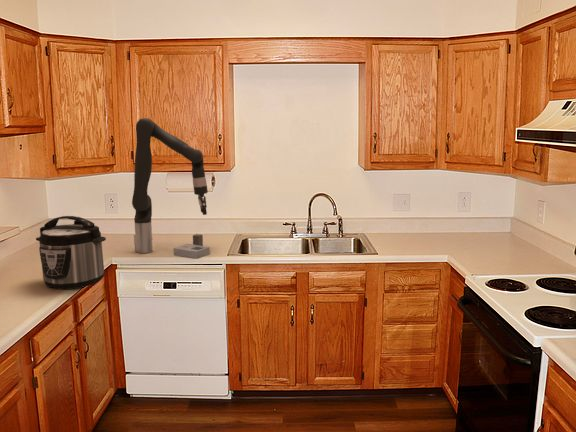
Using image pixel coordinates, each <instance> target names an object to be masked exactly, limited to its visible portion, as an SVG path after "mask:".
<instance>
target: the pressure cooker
mask: <svg viewBox="0 0 576 432" xmlns="http://www.w3.org/2000/svg"><path fill="white" fill-rule="evenodd" d="M65 219H67V220H72V221H73V224H72V223H71V224H59V225H58V222H59V221H60V220H65ZM106 239H107V238H106V237H105V236H102V233H101V231H100V227H99V226H98V225H95V223H94V222H92V221H91V220H89V219H87V218H83V217H80V216H75V215H62V216H58V217H54V218H52V219H50V220H48V221H47V222H46V223H44V225H43V226H41V227H39V236H37V237H36V238H35V240H36V241H38V242H39V256H40V262H41V271H42V279H43V282H44V284H45V285H46V286H47V287H49V288H51V287H53V288H52V289H56V288H62V289H61V290H64V289H63V288H69V289H79V288H86V287H88V286H92V285H95V284H98V283H99V282H100V281H101V280H102V279H103V278H104V275H105V266H104V254H103V253H104V252H103V243H102V242H104V241H106ZM69 289H68V290H69Z"/></svg>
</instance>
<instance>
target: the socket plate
mask: <svg viewBox="0 0 576 432" xmlns="http://www.w3.org/2000/svg"><path fill="white" fill-rule="evenodd" d="M210 254H211V247H210V246H205V245H203V246H200V245H193V243H192V244H191V243H185V244H182V245H180V246H176V247H173V256H175V257H176V256H177V257H185V258H188V259H196V260H197V259H200V258H203V257H205V256H208V255H210Z"/></svg>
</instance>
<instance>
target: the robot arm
mask: <svg viewBox="0 0 576 432" xmlns="http://www.w3.org/2000/svg"><path fill="white" fill-rule="evenodd" d="M135 133H136V136H135V137H136V147H135V155H134V171H133V172H134V173H133V174H134V176H133V177H134V178H133V179H134V186H133V193H132V199H131V204H132V207H133V209H134V210H135V213H134V214H135V215H134V219H133V220H134V234H133V242H134V243H133V245H134V252H136V253H137V254H149V253H152V252H153V250H154V249H153V230H152V229H153V226H152V216H153V215H152V214H153V211H152V210H153V208H152V206H153V205H152V199H151V198H152V197H150V195H149V194H148V187H149V182H150V178H151V175H152V167H153V157H152V156H153V155H152V150H151V140H152V139H151V138H154V139H156V140H158V141H160V142H161V143H163V144H164V145H165V146H166V147H168V148H169V149H170V150H172V151H173V152H176V153H178V154H179V155H181V156H182V157H184V158H186V159H187V160H188V161H190V162H191V175H192V185H193V186H192V187H193V192H194V195H197V196H198V197H197V199H198V204H199V208H200V212H201V213H202V215H203V216H206V215H207V214H208V212H207V208H208V207H207V198H206V196H205V194H206V195H207V194H208V192H209V191H208V185H207V184H208V183H207V178H206V172H205V167H204V166H205V165H204V164H205V163H204V154H203V151H201V150H200V149H195V148H193V147H191V146H190V145H189V144H188V143H187V142H185V141H183V140H181V139H180V138H178V137H177V136H174V135H173V134H171V133H169V132H167V131H166V130H164V129H163V128H162V127H160V126H159V125H158V124H156V122H154V120H152V119H150V118H148V117H143V118H140V119H138V121H137V122H136V124H135Z"/></svg>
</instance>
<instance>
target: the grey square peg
mask: <svg viewBox="0 0 576 432" xmlns="http://www.w3.org/2000/svg"><path fill="white" fill-rule="evenodd" d="M203 240H204V238H203V234H201V233H196V234H192V244H193V245H200V246H204V241H203Z"/></svg>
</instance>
